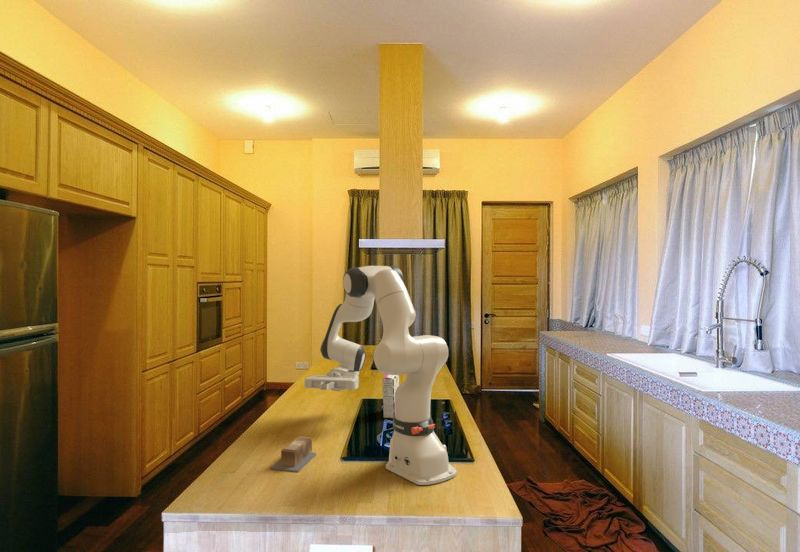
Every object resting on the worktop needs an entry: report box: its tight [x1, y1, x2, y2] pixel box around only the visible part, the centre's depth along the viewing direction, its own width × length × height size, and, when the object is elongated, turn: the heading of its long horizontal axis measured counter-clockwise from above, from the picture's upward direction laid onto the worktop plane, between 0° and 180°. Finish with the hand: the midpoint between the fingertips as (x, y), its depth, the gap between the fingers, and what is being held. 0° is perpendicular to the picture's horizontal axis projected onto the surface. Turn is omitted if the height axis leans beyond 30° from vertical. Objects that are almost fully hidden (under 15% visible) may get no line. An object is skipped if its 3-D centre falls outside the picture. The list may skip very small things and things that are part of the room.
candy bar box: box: [382, 374, 400, 419], centre depth 185 cm, size 11×5×16 cm, turn 168°
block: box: [280, 435, 313, 467], centre depth 141 cm, size 5×4×12 cm
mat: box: [270, 452, 317, 473], centre depth 139 cm, size 13×9×1 cm
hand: (323, 387), depth 160 cm, fingers closed
